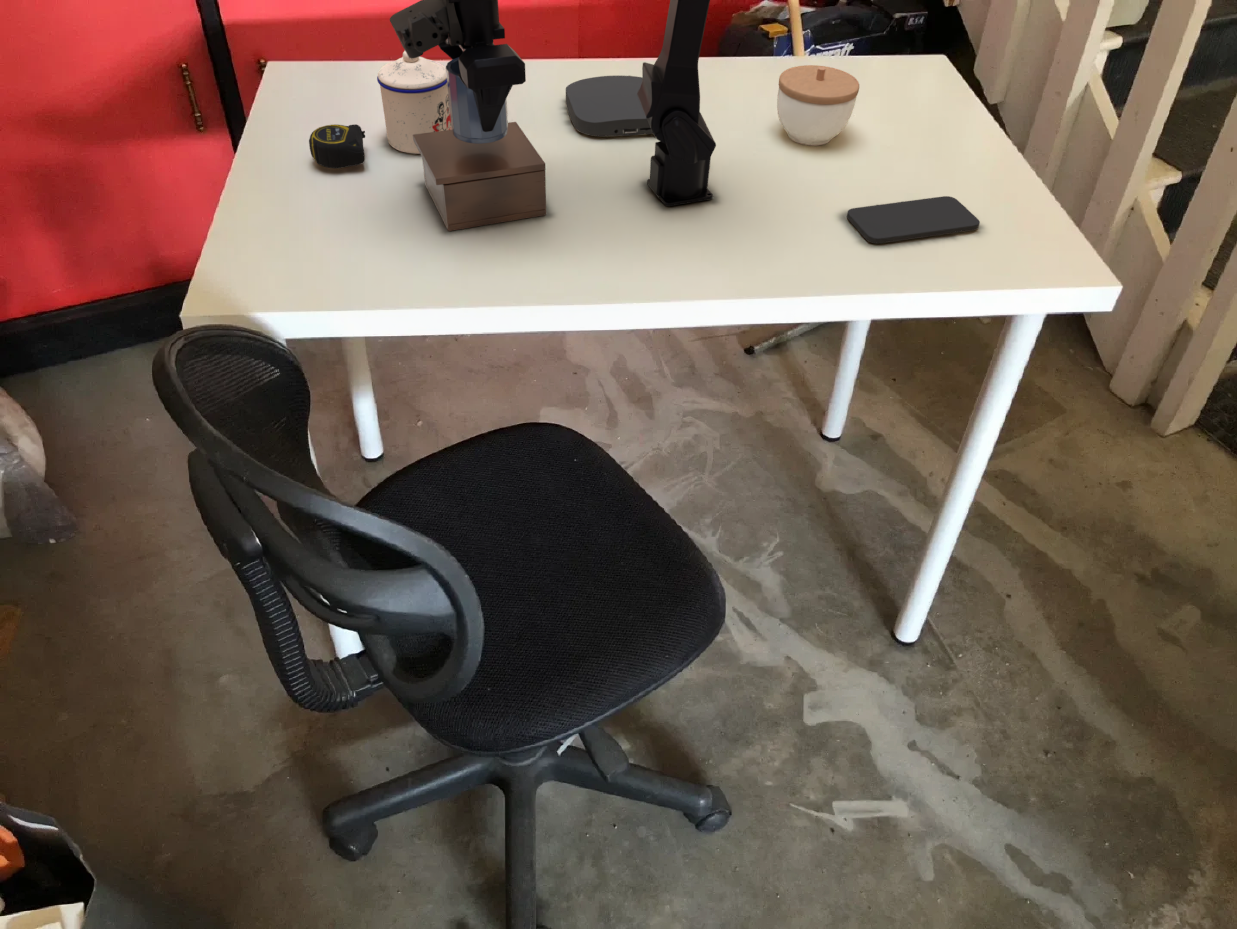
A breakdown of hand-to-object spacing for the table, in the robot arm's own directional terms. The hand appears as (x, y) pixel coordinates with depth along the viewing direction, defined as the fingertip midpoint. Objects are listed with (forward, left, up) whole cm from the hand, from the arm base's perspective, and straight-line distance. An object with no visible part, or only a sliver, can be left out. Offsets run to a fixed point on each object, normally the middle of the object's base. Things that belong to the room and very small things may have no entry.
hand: (479, 118), depth 108 cm
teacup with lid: (+3, -20, -11) cm, 22 cm away
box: (0, 0, -10) cm, 10 cm away
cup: (0, 0, -2) cm, 2 cm away
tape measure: (+14, -16, -11) cm, 24 cm away
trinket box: (-48, -4, -11) cm, 49 cm away
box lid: (0, 0, -4) cm, 4 cm away
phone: (-48, +21, -10) cm, 53 cm away
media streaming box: (-25, -18, -11) cm, 32 cm away
